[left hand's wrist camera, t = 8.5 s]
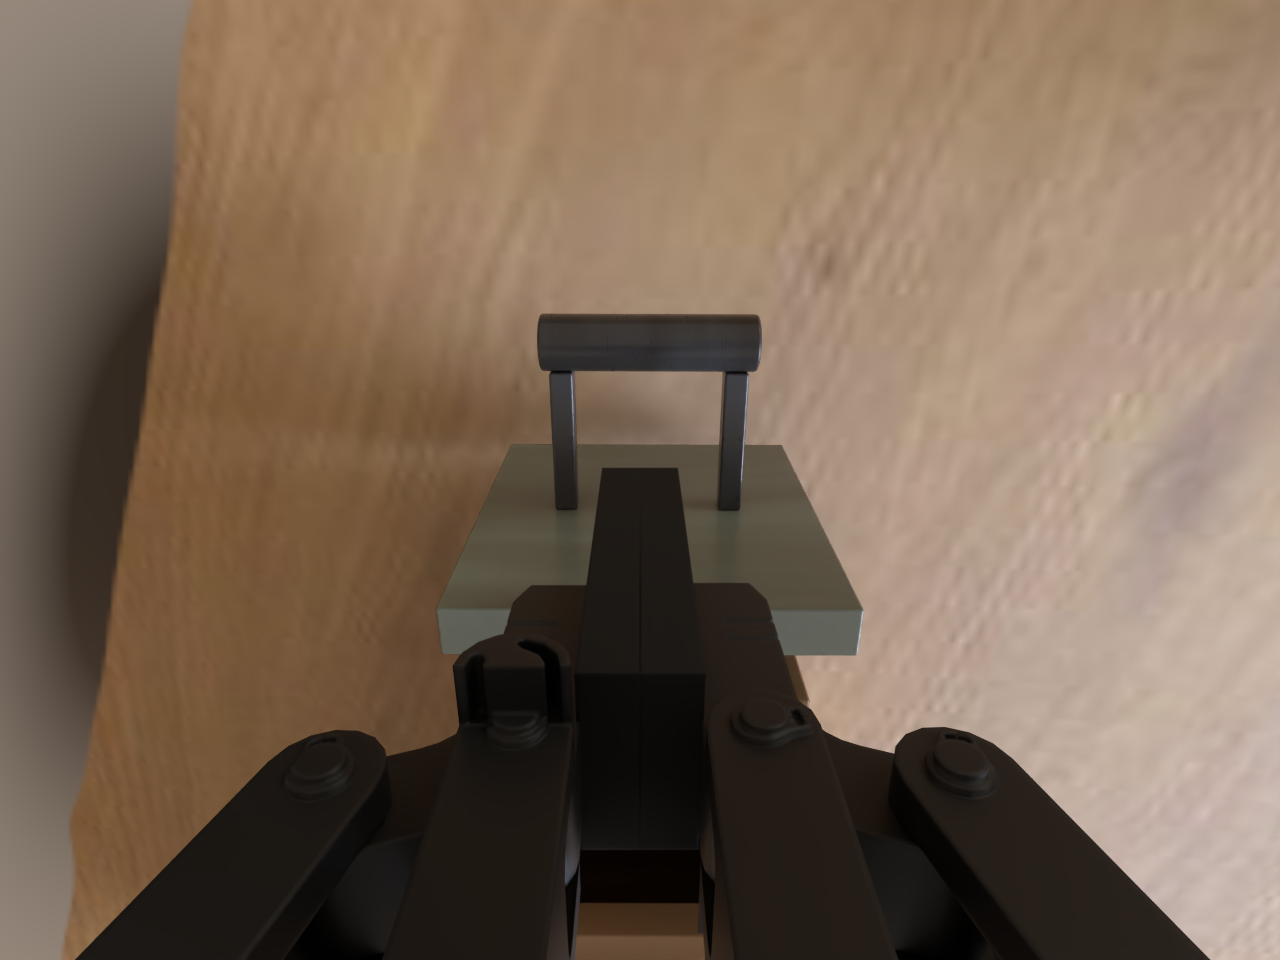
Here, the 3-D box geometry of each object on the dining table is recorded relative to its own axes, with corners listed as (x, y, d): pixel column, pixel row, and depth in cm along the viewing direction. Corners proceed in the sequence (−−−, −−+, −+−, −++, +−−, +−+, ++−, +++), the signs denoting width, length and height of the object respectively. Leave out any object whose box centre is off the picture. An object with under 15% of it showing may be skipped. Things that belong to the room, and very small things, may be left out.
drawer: (499, 284, 22) (403, 366, 13) (796, 285, 22) (901, 368, 13) (539, 851, 32) (500, 1121, 23) (747, 852, 32) (788, 1122, 23)
